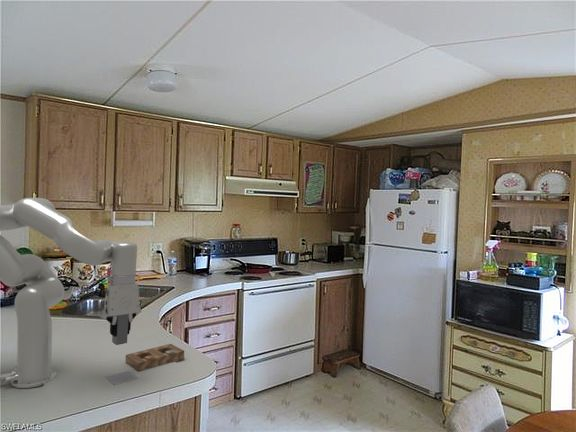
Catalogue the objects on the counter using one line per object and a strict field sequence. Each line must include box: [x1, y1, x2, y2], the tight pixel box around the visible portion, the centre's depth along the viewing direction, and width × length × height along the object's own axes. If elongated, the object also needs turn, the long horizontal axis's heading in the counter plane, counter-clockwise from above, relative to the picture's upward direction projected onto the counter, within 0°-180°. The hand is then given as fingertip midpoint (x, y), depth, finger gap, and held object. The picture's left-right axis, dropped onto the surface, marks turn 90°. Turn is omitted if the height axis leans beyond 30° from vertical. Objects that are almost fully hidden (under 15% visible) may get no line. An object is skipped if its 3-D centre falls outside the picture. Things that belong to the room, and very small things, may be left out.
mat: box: [104, 370, 139, 386], centre depth 133 cm, size 8×8×1 cm
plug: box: [111, 314, 129, 346], centre depth 133 cm, size 4×4×11 cm
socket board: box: [124, 343, 185, 372], centre depth 148 cm, size 18×10×4 cm, turn 135°
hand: (120, 333), depth 133 cm, fingers closed on plug, 3 cm apart
